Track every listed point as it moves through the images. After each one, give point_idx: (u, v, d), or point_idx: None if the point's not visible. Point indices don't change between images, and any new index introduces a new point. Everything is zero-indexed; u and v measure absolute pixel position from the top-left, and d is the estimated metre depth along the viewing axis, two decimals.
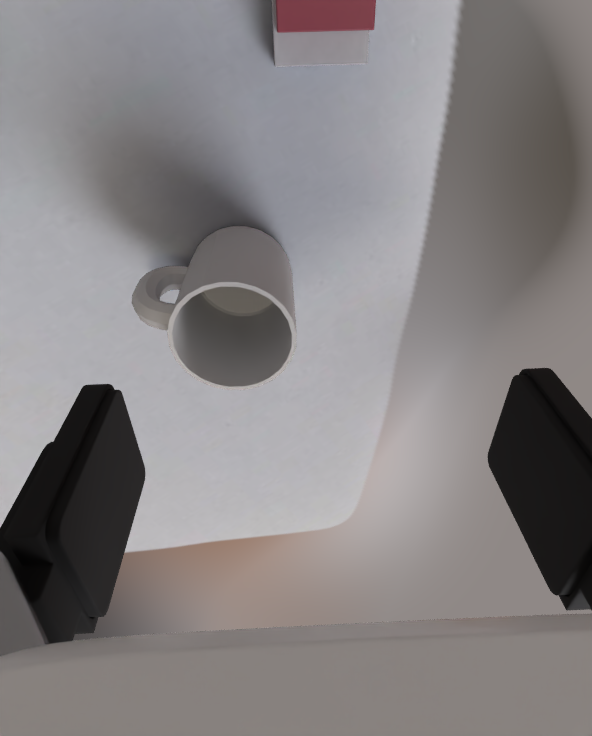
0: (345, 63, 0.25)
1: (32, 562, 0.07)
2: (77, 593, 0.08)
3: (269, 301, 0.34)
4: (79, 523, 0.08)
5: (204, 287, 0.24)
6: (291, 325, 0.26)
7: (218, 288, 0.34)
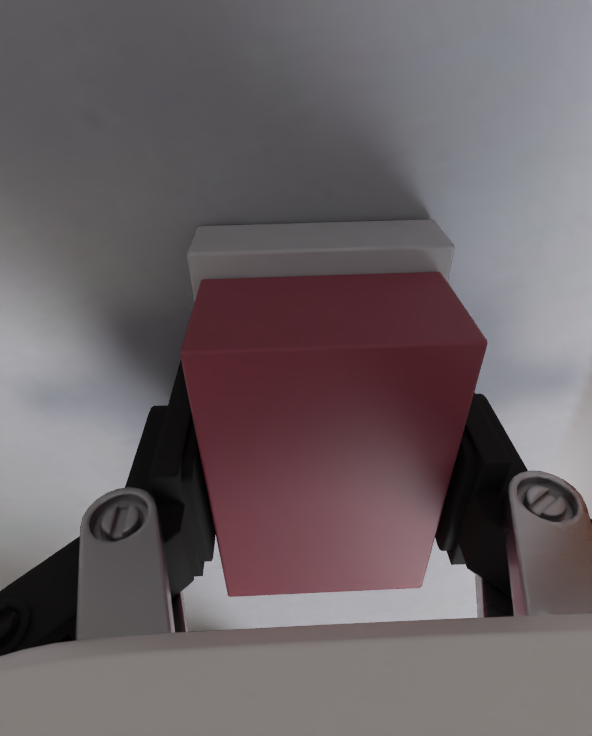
0: None
1: (168, 502, 0.08)
2: (195, 536, 0.09)
3: None
4: (200, 472, 0.09)
5: None
6: None
7: None
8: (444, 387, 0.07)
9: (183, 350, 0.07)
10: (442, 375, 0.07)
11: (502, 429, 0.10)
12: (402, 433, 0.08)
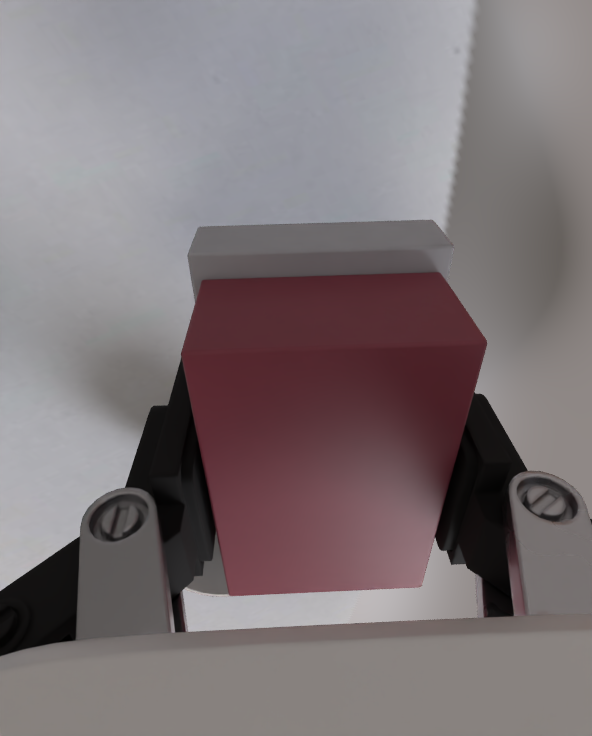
0: None
1: (168, 502, 0.08)
2: (195, 536, 0.09)
3: None
4: (200, 472, 0.09)
5: None
6: None
7: None
8: (444, 387, 0.07)
9: (184, 350, 0.07)
10: (442, 375, 0.07)
11: (502, 429, 0.10)
12: (402, 433, 0.08)
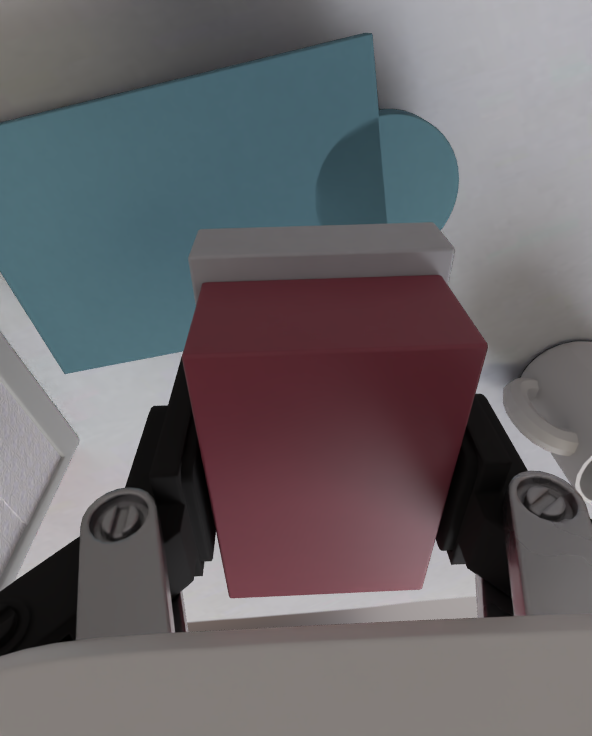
0: None
1: (168, 502, 0.08)
2: (195, 536, 0.09)
3: None
4: (200, 472, 0.09)
5: None
6: None
7: None
8: (445, 390, 0.07)
9: (185, 353, 0.07)
10: (443, 378, 0.07)
11: (502, 429, 0.10)
12: (403, 436, 0.08)
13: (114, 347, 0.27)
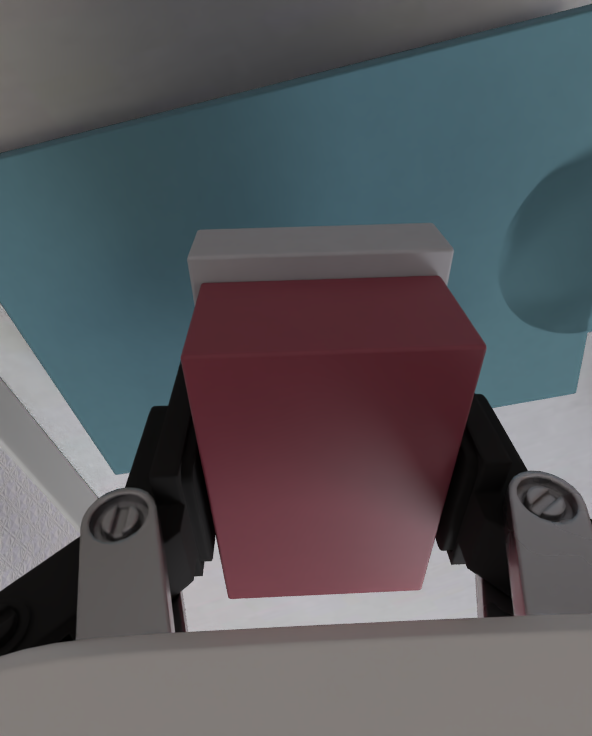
0: None
1: (168, 502, 0.08)
2: (195, 536, 0.09)
3: None
4: (200, 471, 0.09)
5: None
6: None
7: None
8: (444, 391, 0.07)
9: (184, 354, 0.07)
10: (442, 379, 0.07)
11: (502, 429, 0.10)
12: (402, 436, 0.08)
13: None
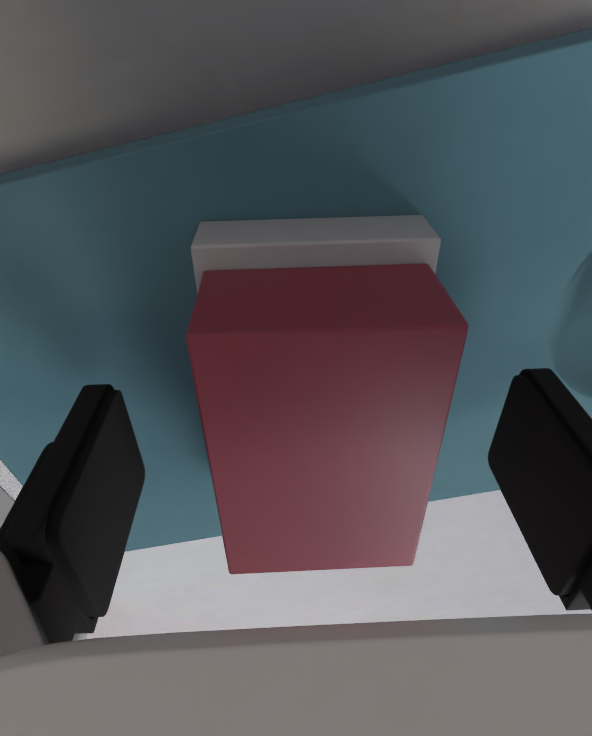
0: None
1: (32, 562, 0.07)
2: (77, 593, 0.08)
3: None
4: (79, 523, 0.08)
5: None
6: None
7: None
8: (430, 368, 0.08)
9: (188, 333, 0.07)
10: (428, 357, 0.08)
11: None
12: (391, 412, 0.09)
13: (166, 525, 0.17)
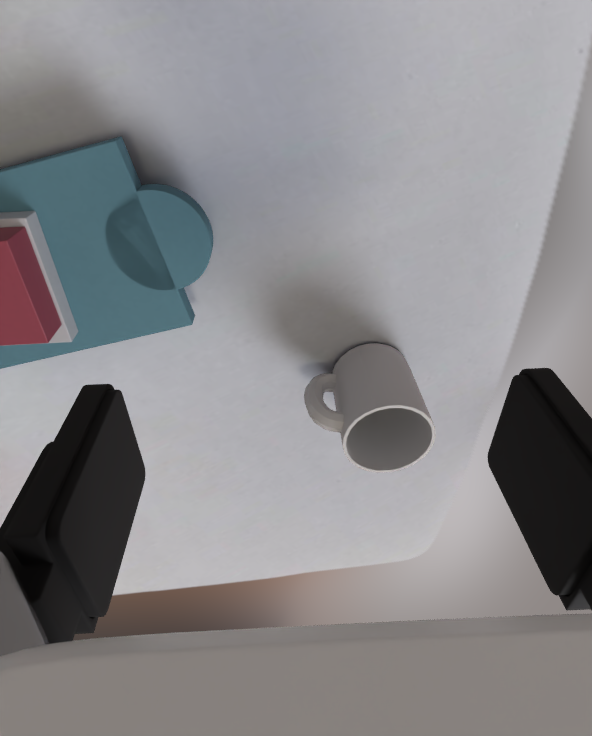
0: (55, 342, 0.34)
1: (32, 562, 0.07)
2: (77, 593, 0.08)
3: None
4: (79, 523, 0.08)
5: (377, 409, 0.34)
6: (433, 430, 0.36)
7: None
8: (3, 255, 0.27)
9: None
10: None
11: None
12: (0, 271, 0.28)
13: None
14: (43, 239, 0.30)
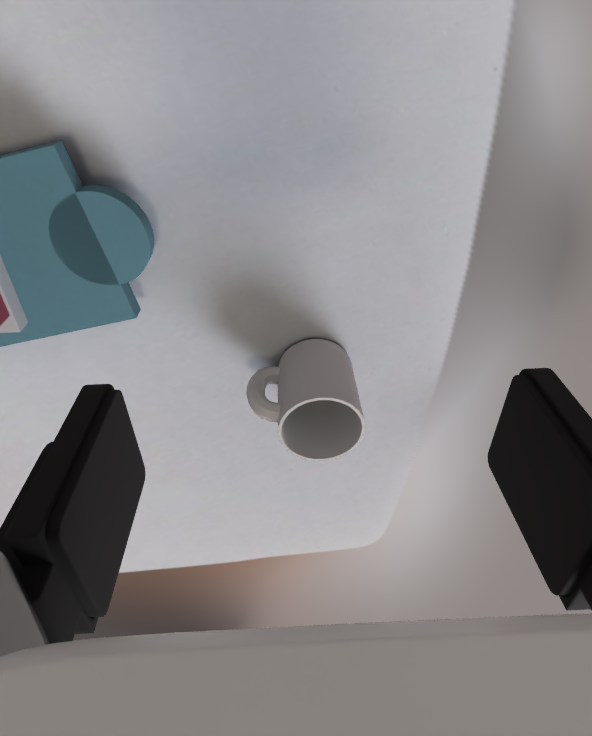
0: (4, 332, 0.36)
1: (32, 562, 0.07)
2: (77, 593, 0.08)
3: None
4: (79, 523, 0.08)
5: (308, 400, 0.36)
6: (362, 422, 0.38)
7: None
8: None
9: None
10: None
11: None
12: None
13: None
14: None
